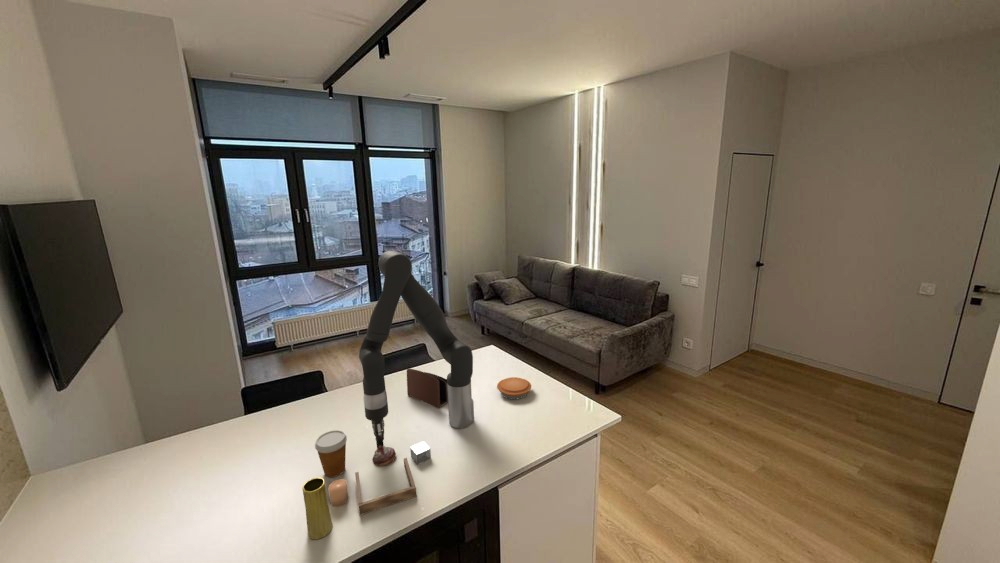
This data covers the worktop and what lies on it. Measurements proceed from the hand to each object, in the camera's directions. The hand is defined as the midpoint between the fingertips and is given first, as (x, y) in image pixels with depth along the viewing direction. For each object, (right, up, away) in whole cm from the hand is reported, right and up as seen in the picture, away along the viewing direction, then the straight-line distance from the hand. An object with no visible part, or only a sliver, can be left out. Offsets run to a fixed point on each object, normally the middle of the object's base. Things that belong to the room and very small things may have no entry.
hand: (380, 447), depth 132 cm
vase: (-6, -9, -31) cm, 33 cm away
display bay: (+7, -5, -16) cm, 18 cm away
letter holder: (+11, +6, +36) cm, 38 cm away
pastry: (+3, -3, -3) cm, 5 cm away
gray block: (+15, -2, -3) cm, 15 cm away
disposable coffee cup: (-12, -4, -9) cm, 15 cm away
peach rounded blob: (-5, -6, -21) cm, 22 cm away
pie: (+48, +8, +38) cm, 62 cm away
